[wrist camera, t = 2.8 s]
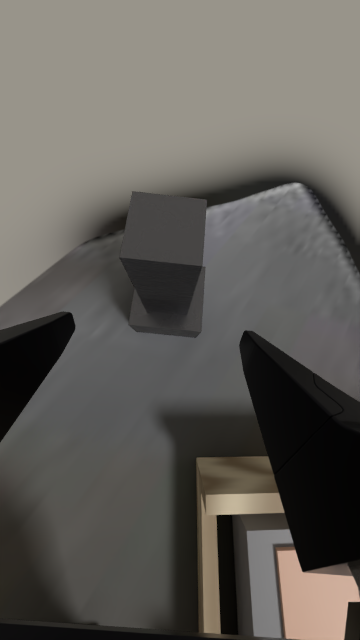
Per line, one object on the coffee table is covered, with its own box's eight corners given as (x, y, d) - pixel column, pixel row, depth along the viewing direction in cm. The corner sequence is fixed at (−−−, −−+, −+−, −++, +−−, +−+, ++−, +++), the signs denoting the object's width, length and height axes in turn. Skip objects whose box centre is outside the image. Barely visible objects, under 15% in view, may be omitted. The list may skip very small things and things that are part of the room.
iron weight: (195, 337, 21) (232, 298, 8) (136, 331, 21) (80, 282, 8) (199, 283, 22) (234, 181, 10) (144, 277, 22) (109, 166, 10)
